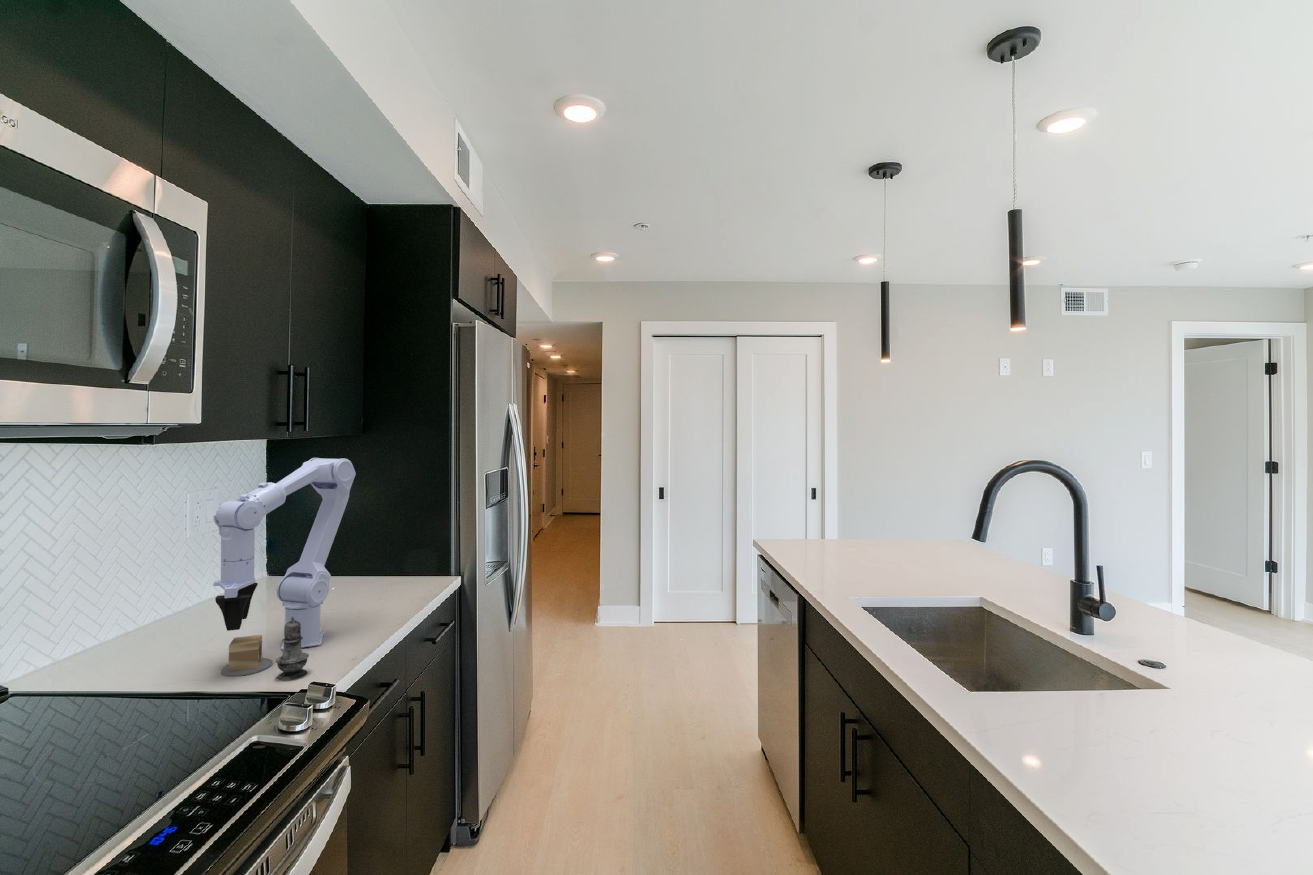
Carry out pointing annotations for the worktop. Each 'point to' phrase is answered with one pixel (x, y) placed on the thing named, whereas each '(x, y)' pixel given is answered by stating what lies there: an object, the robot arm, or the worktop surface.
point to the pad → (262, 666)
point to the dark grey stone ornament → (292, 653)
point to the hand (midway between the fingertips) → (237, 624)
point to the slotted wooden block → (245, 653)
